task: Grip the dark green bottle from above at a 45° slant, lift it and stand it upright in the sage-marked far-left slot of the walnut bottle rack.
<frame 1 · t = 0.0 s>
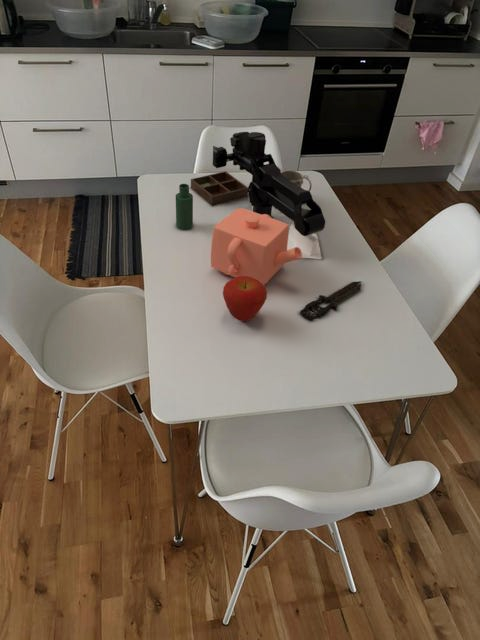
hand: (224, 145, 179), 17 cm above the table, tool horizontal, fingers open, 9 cm apart
napkin holder: (302, 245, 164), on the table
mug: (292, 203, 185), on the table
rack: (219, 192, 187), on the table
bottle: (184, 226, 168), on the table
teapot: (257, 274, 150), on the table
apple: (242, 317, 135), on the table
knife: (333, 300, 143), on the table
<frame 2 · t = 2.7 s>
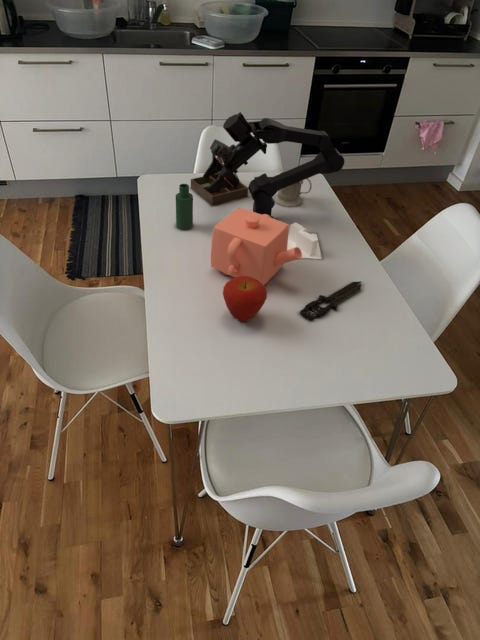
hand: (206, 183, 162), 14 cm above the table, tool tilted 50°, fingers open, 9 cm apart
nothing on the table moved.
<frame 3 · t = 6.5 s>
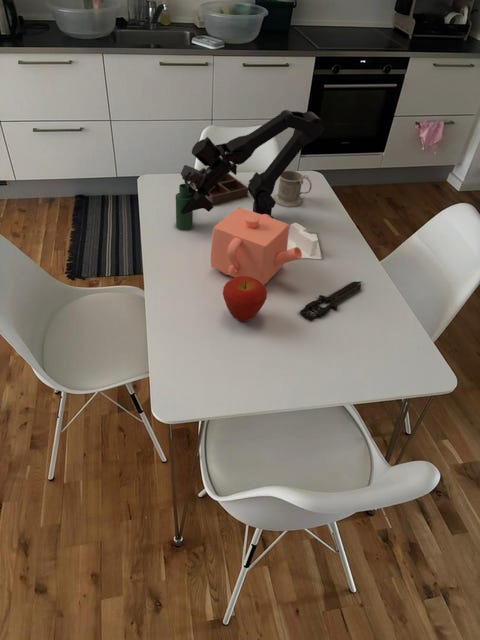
hand: (180, 208, 163), 7 cm above the table, tool tilted 45°, fingers closed on bottle, 5 cm apart
bottle: (184, 226, 168), on the table, touching gripper
everything else where it was.
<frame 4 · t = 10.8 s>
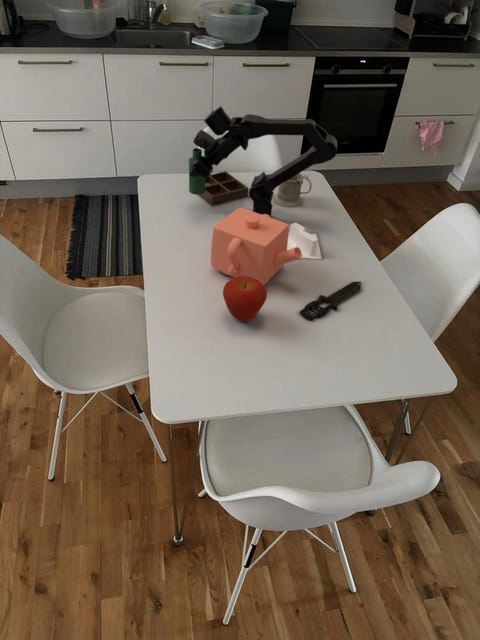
hand: (193, 172, 169), 13 cm above the table, tool tilted 45°, fingers closed on bottle, 5 cm apart
bottle: (197, 190, 174), point 6 cm above the table, touching gripper
everything else where it was.
when the fingers open (7 cm above the table, at t = 15.2 s): bottle stays where it is, resting on rack.
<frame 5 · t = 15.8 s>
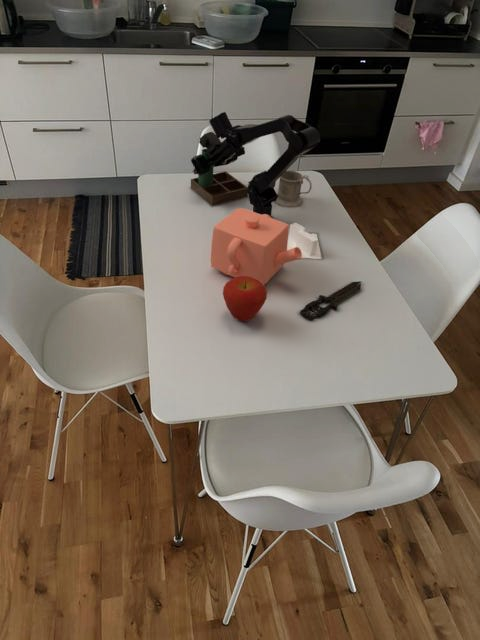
hand: (203, 169, 183), 8 cm above the table, tool tilted 45°, fingers open, 9 cm apart
bottle: (205, 188, 187), point 1 cm above the table, touching rack
everything else where it was.
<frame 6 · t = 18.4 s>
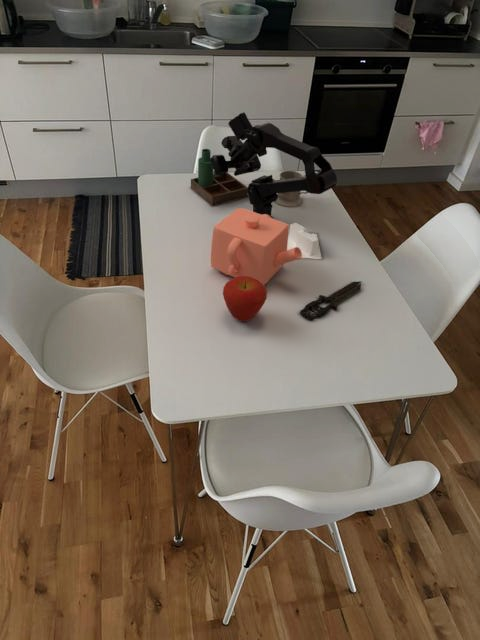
hand: (224, 175, 178), 9 cm above the table, tool tilted 40°, fingers open, 9 cm apart
nothing on the table moved.
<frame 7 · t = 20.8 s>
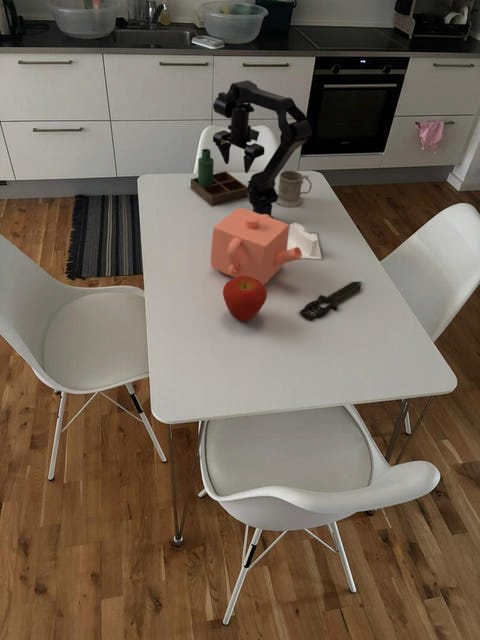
hand: (236, 168, 174), 13 cm above the table, tool pointing down, fingers open, 9 cm apart
nothing on the table moved.
at the end: bottle 0.0 cm from the target spot in the rack, point 0.8 cm above the rack's base; bottle tilted 0°; the gripper is holding nothing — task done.
